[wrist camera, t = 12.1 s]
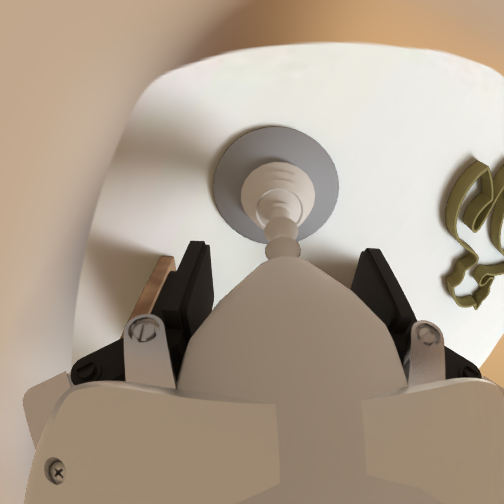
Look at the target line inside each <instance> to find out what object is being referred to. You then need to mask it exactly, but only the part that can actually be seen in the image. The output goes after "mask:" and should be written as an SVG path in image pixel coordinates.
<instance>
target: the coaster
mask: <svg viewBox="0 0 504 504" xmlns="http://www.w3.org/2000/svg"><path fill="white" fill-rule="evenodd" d="M272 162H284V163H289V164H292V165H294V166H297V167H299V168H300V169H301V170H302V171H304V172H305V173H306V174H307V175H308V177H309V178H310V180H311V182H312V183H313V187H314V191H315V200H314V206H313V208H312V210H311V212H310V214H309V215H308V216H307V218H306V219H305V220H304V222H303V223H302V224H301V225H300V226H299V227H298V230H299V231H298V236H297V238H296V239H295V241H299V240H302V239H304V238H306V237H308V236H310V235H311V234H313V233H314V232H316V231H317V230H318V229H319V228H321V227H322V226H323V224H324V223H325V222H326V221H327V220H328V218H329V217H330V215H331V214H332V212H333V210H334V207H335V205H336V202H337V198H338V191H339V182H338V175H337V171H336V168H335V165H334V163H333V161H332V159H331V157H330V156H329V155H328V153H327V152H326V150H325V149H324V148H323V147H322V146H321V145H320V144H319V143H318V142H316V141H315V140H314V139H313V138H311V137H310V136H308V135H306V134H304V133H302V132H300V131H297V130H294V129H290V128H285V127H267V128H261V129H258V130H254V131H252V132H249V133H247V134H245V135H243V136H242V137H240V138H239V139H237V140H236V141H235V142H234V143H233V144H232V145H231V146H230V147H229V148H228V149H227V150H226V151H225V153H224V154H223V156H222V157H221V159H220V161H219V163H218V165H217V168H216V171H215V175H214V180H213V192H214V198H215V202H216V205H217V208H218V210H219V212H220V214H221V215H222V217H223V218H224V220H225V221H226V222H227V224H228V225H229V226H230V227H231V228H232V229H234V230H235V231H236V232H237V233H239V234H241V235H242V236H244V237H246V238H248V239H250V240H253V241H256V242H259V243H264V244H268V243H269V242H268V240H267V239H266V238H265V235H264V230H263V229H262V228H260V227H259V226H257V224H256V223H254V222H253V221H252V220H251V219H250V218H249V216H248V215H247V214H246V212H245V211H244V208H243V205H242V202H241V190H242V187H243V184H244V182H245V180H246V178H247V177H248V176H249V175H250V173H251V172H252V171H254V170H255V169H257V168H258V167H260V166H262V165H264V164H268V163H272Z"/></svg>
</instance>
